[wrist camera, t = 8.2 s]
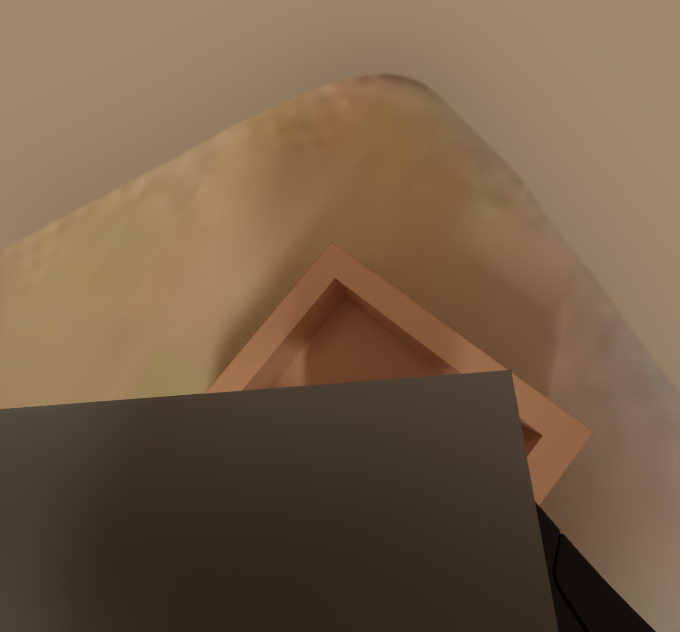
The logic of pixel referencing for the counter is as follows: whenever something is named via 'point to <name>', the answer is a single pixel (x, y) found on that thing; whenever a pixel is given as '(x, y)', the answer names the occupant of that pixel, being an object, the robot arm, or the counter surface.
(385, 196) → the counter surface
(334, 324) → the pink square tray
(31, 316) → the counter surface
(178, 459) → the brown rectangular block
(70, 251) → the counter surface
